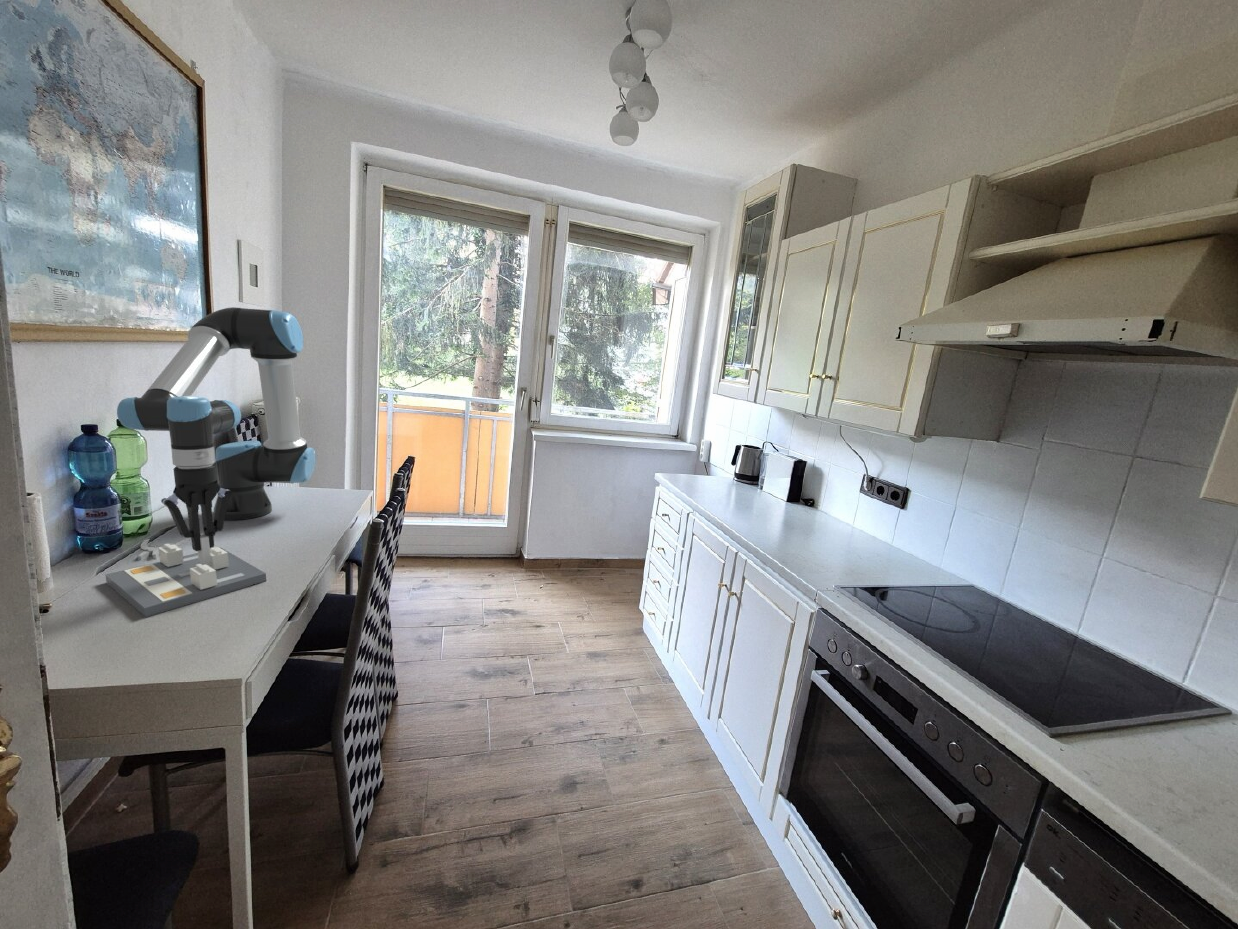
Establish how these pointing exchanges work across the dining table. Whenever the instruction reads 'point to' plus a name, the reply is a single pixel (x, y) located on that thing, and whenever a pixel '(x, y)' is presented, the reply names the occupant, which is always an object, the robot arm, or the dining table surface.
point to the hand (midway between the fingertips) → (205, 561)
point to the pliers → (154, 549)
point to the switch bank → (178, 583)
